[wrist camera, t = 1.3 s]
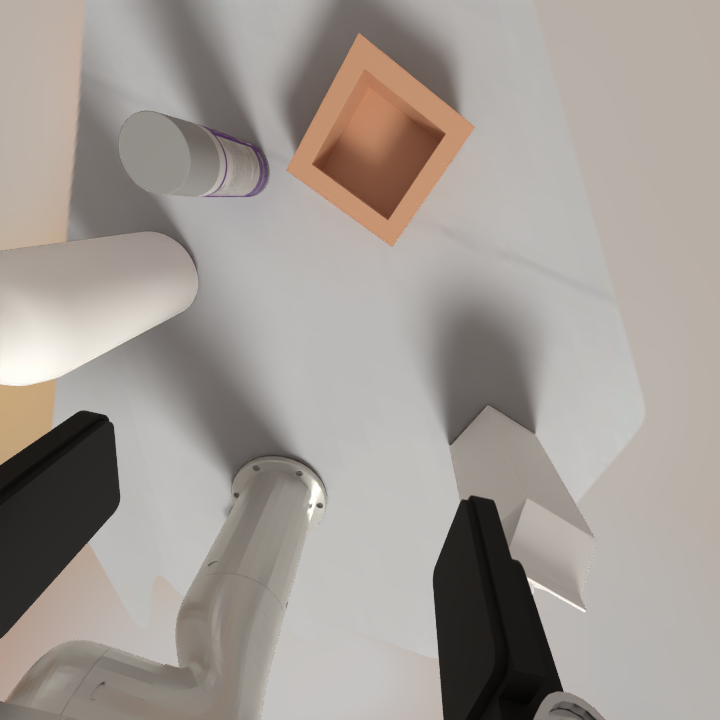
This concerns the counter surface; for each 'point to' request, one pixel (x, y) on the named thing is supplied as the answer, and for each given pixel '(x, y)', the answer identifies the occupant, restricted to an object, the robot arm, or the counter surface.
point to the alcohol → (86, 300)
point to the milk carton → (526, 502)
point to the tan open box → (378, 142)
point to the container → (189, 158)
